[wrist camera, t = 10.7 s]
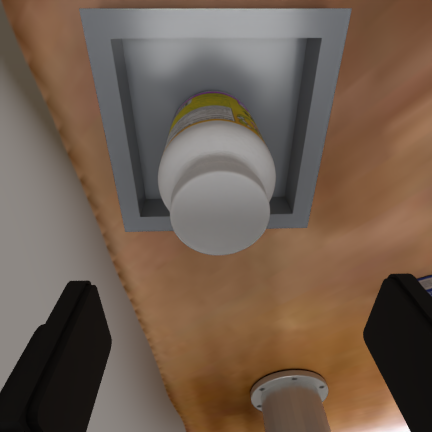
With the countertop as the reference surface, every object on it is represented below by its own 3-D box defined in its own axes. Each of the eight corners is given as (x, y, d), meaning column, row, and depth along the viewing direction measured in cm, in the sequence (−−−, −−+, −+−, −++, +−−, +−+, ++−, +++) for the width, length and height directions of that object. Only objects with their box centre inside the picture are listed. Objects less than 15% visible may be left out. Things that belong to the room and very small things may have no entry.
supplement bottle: (255, 163, 26) (290, 264, 16) (180, 173, 26) (165, 278, 16) (251, 82, 23) (293, 140, 12) (164, 93, 23) (129, 161, 12)
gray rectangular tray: (295, 204, 30) (307, 227, 27) (134, 207, 29) (125, 231, 26) (328, 10, 21) (351, 8, 18) (99, 10, 21) (79, 8, 17)
